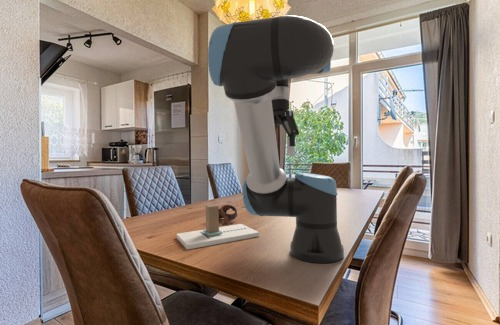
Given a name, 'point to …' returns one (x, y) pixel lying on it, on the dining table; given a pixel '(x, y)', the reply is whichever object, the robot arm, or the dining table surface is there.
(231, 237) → the board
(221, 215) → the dark brown looped ring
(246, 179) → the robot arm
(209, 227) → the stub
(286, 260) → the dining table surface
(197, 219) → the dining table surface
